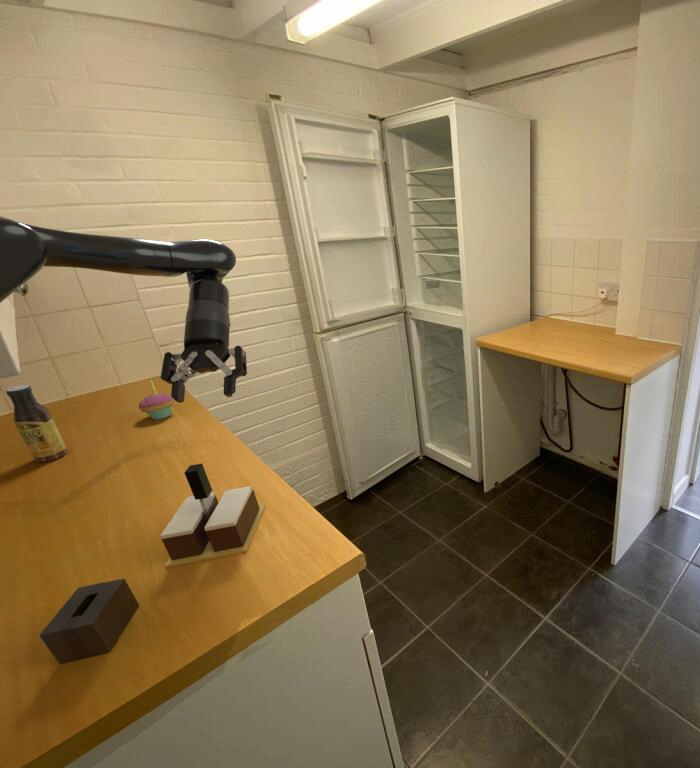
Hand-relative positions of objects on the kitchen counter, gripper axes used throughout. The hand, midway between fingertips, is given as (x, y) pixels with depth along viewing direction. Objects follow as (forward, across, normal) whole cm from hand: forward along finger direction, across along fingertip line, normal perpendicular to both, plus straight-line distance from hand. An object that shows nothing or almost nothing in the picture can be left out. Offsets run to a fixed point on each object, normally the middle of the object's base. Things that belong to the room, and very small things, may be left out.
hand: (203, 398), depth 82 cm
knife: (+25, 0, +8) cm, 26 cm away
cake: (+25, 0, +9) cm, 27 cm away
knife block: (+38, -10, -4) cm, 40 cm away
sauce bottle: (-7, -54, +41) cm, 68 cm away
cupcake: (-20, -37, +54) cm, 68 cm away
